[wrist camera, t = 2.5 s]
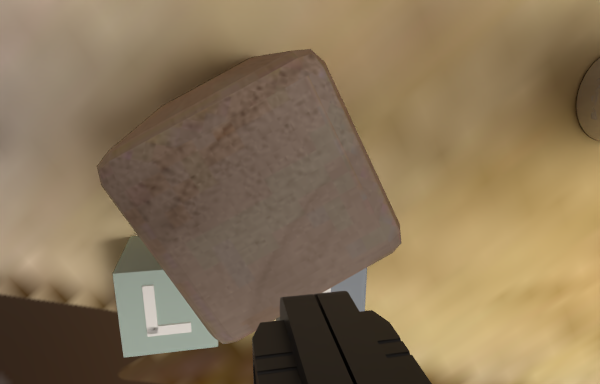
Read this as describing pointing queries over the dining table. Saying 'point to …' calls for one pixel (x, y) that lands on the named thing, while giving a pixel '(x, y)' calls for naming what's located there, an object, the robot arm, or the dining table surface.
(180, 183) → the wooden block
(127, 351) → the sage numbered cube
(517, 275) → the dining table surface
